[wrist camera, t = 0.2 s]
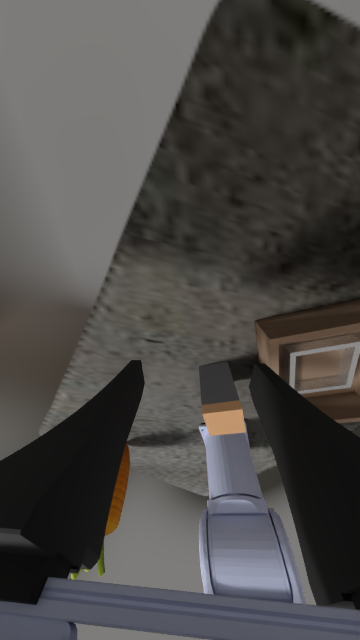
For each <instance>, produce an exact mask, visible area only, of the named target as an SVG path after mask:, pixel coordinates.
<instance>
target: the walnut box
mask: <svg viewBox="0 0 360 640" xmlns="http://www.w3.org/2000/svg"><path fill="white" fill-rule="evenodd" d="M255 327H256V339H257V351H258V363H265V364H266V365H267V366H268V367H270V368H271V369H272V370H273V371H274V372H275V373H276V374H277V375H279V376H280V377H281V378H282V379H283V380H284V345H289V344H295V343H300V342H306V341H312V340H317V339H323V338H329V337H334V336H340V335H346V334H352V335H353V336H355V337H357V338H359V339H360V299H358V300H354V301H349V302H344V303H339V304H334V305H329V306H325V307H320V308H315V309H310V310H305V311H300V312H295V313H291V314H286V315H281V316H276V317H271V318H266V319H261V320H257V321H255ZM341 350H342V349H337V350H331V351H325V352H319V353H313V354H307V355H301V356H296V364H295V382H296V381H303V380H310V379H317V378H324V377H331V376H337V371H338V366H339V361H340V355H341ZM301 395H302V396H303V397H304V398H305V399H307V400H308V401H309V402H311V403H312V404H313V405H314V406H316V407H317V408H318V409H319V410H321V411H322V412H323V413H325V414H326V415H328V416H329V417H330V418H332V419H333V420H335V421H336V422H337V423H347V422H357V421H360V354H359V358H358V361H357V365H356V369H355V373H354V377H353V381H352V385H351V388H343V389H335V390H327V391H319V392H312V393H304V394H301Z"/></svg>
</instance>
